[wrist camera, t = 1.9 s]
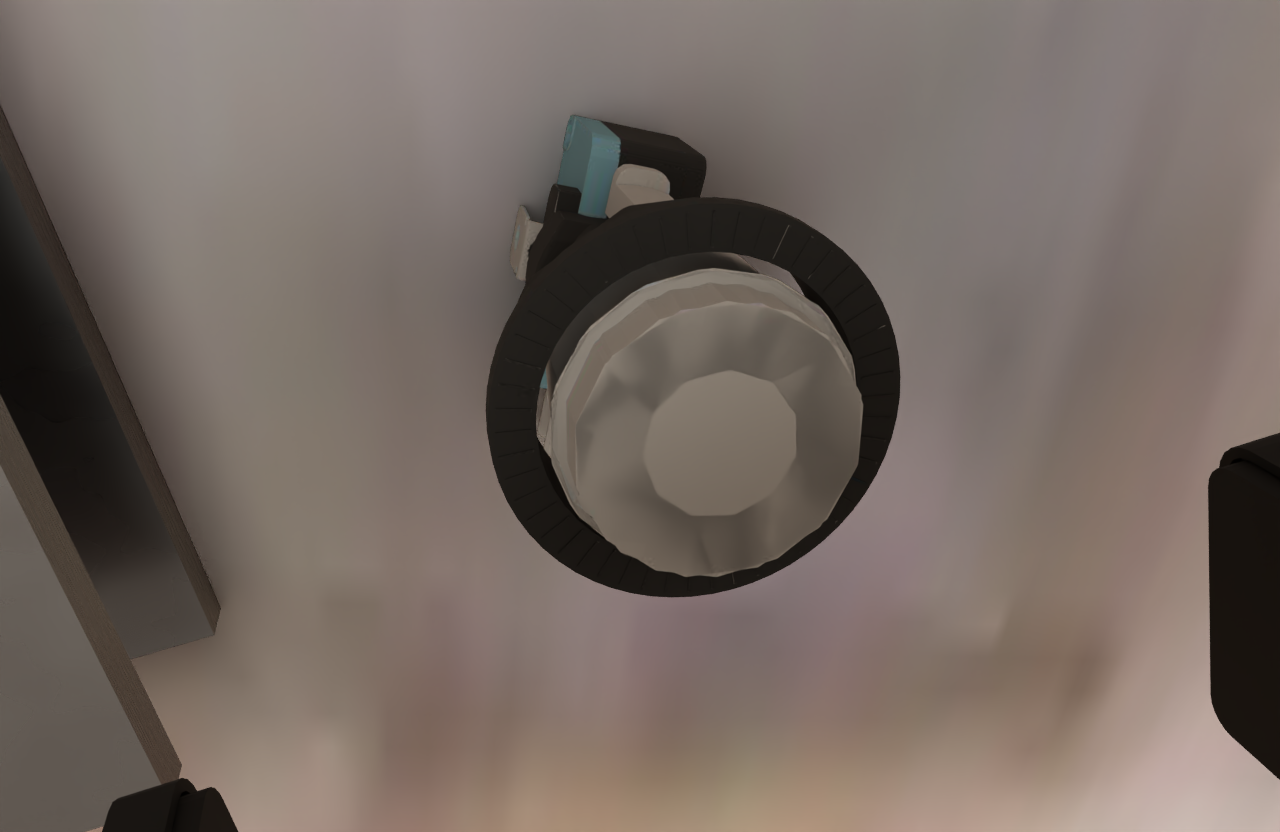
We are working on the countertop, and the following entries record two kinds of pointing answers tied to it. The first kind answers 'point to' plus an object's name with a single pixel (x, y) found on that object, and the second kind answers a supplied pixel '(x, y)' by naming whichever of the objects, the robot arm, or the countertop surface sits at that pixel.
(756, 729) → the countertop surface
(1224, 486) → the robot arm
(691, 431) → the push button
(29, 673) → the stand
